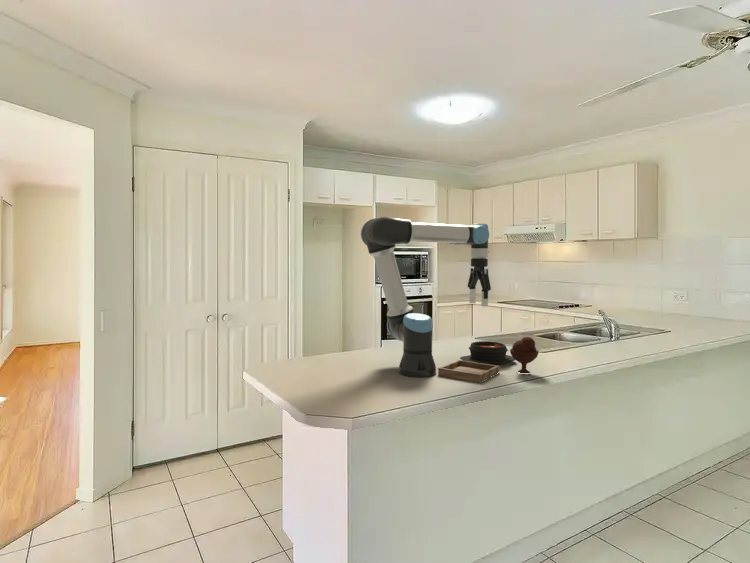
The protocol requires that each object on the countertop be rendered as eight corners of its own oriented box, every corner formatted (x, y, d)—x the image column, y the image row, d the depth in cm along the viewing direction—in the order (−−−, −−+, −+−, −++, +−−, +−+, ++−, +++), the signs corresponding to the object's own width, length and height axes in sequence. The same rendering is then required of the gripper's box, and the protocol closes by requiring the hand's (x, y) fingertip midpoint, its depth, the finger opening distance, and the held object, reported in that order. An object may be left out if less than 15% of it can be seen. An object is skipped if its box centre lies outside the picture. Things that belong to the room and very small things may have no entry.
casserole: (502, 356, 222) (502, 339, 222) (524, 366, 204) (524, 346, 204) (453, 359, 216) (453, 341, 216) (471, 369, 198) (471, 349, 198)
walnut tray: (480, 382, 177) (480, 374, 177) (438, 375, 187) (438, 368, 187) (499, 373, 191) (499, 365, 191) (458, 366, 202) (458, 359, 202)
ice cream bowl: (531, 369, 197) (532, 334, 196) (542, 376, 186) (542, 338, 185) (506, 370, 197) (507, 334, 196) (515, 376, 186) (516, 339, 185)
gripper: (499, 258, 203) (498, 307, 204) (475, 257, 227) (475, 301, 228) (483, 258, 201) (482, 307, 203) (461, 257, 226) (460, 301, 227)
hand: (478, 304), depth 216 cm, fingers open, 13 cm apart
